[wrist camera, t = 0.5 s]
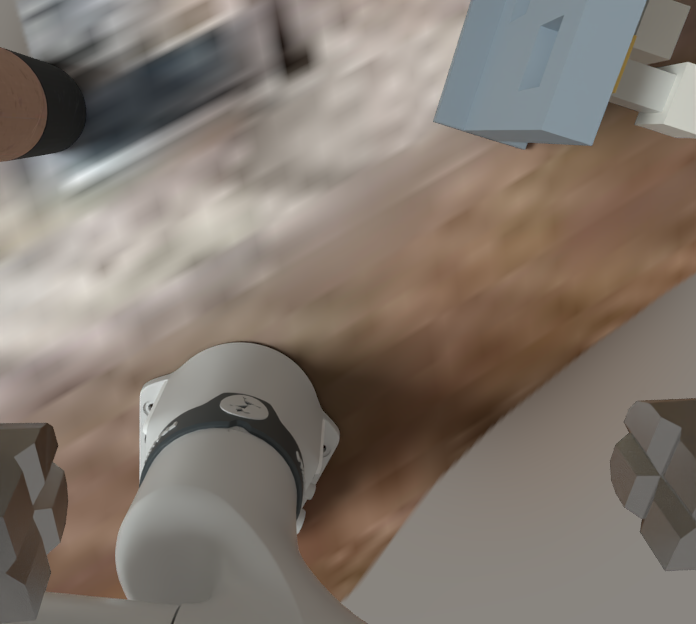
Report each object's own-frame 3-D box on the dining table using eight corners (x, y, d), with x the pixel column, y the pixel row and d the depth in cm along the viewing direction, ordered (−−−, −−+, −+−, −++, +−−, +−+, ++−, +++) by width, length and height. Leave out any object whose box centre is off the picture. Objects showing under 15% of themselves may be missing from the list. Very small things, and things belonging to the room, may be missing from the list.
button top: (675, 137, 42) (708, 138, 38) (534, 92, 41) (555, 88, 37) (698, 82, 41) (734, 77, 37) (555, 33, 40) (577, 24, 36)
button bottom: (644, 65, 49) (670, 59, 45) (523, 24, 47) (539, 15, 44) (663, 15, 48) (691, 6, 44) (540, -28, 46) (558, -41, 43)
